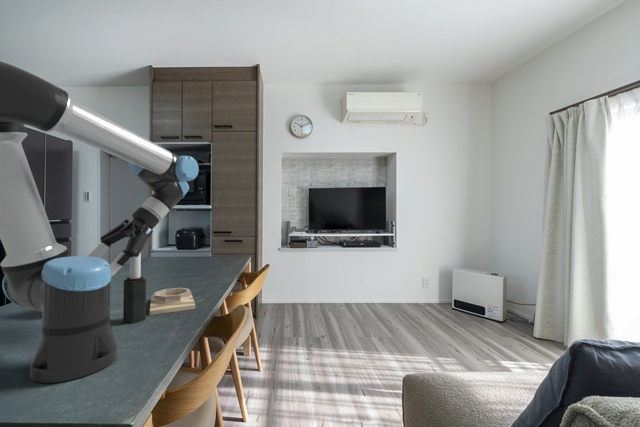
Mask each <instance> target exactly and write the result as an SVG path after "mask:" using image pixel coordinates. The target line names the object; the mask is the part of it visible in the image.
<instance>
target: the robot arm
mask: <svg viewBox="0 0 640 427" xmlns="http://www.w3.org/2000/svg"><path fill="white" fill-rule="evenodd" d="M25 125H26V126H28V127H32V128H35V129H37V130H40V131H43V132H46V133H48V132H53V131H54V132H57V133H59V134H62V135H65V136H67V137H68V138H71V139H73V140H76V141H79V142H82V143H84V144H86V145H88V146H91V147H93V148H95V149H98V150H100V151H102V152H104V153H107V154H110V155H112V156H114V157H116V158H118V159H120V160H121V159H122V160H124V161H126V162H128V167H129V169H130V170H131V171H132V172H133V173H134V174H135V176H136V177H138V179H140V180H141V181H142V182H143V183H144V184H145V185H146V186H148V188H149V189H150V190H151V191H152V192H153V193H152V195H150V196H149V197H148V198H147V199H146V200H145V201H144V202H142V204H141V207H138V208H137V209H136V210H135V211H134V212H133V213H132V215H131V216H132V218H133V219H132V220H131V221H130V220H129V219H125V220H123V221H122V222H121V223H120V224H119V225H117V226H115V227H114V228H112V229H111V230H110V231H108V232H107V233H105V234H103V235H102V236H100V238H99V239H100V243H98V245H97V246H95V248H93V250H91V251H90V252H89V254H87V255H85V256H84V255H83V256H82V255H81V256H80V255H75V256H71V255H70V253H69V250H68V247H67V246H65V245H64V244H60V243H58V242H57V240H56V237H55V235H54V232H53V228H52V226H51V224H50V220H49V218H48V215H47V212H46V210H45V206H44V205H43V204H44V203H43V201H42V199H41V198H42V197H41V196H40V193H39V189H38V187H37V184H36V182H35V179H34V176H33V172H32V170H31V168H30V165H29V162H28V159H27V156H26V153H25V150H24V148H23V144H22V143H23V141H24V140H25V139H26V137H27V136H28V132H27V129H26V126H25ZM199 171H200V169H199V164H198V162H197V160H196V159H195V158H194V157H192V156H190V155H178V154H175V153H174V152H172V151H170V150H168V149H166V148H164V147H162V146H160V145H159V144H156V143H155V142H153V141H151V140H149V139H147V138H145V137H143V136H141V135H140V134H138V133H136V132H134V131H131V130H130V129H128V128H126V127H125V126H122V125H120V124H118V123H116V122H115V121H113V120H111V119H109V118H107V117H105V116H103V115H101V114H99V113H97V112H96V111H94V110H92V109H90V108H89V107H86V106H84V105H82V104H81V103H79V102H77V101H74V100H73V99H72V97H71V95H70V93H69V92H67V91H66V90H64V89H62V88H61V87H59V86H57V85H55V84H53V83H51V82H49V81H47V80H45V79H44V78H41V77H40V76H38V75H35V74H33V73H31V72H29V71H27V70H25V69H22V68H20V67H17V66H15V65H13V64H10V63H8V62H4V61H0V242H1V243H2V245H3V248H4V251H5V254H6V255H5V257H4V258H3V260H2V261H1V262H0V267H1V270H2V272H3V275H4V277H3V279H2V283H1V287H2V291H3V294H4V295H5V296H6V298H7V299H8V300H9V301H10V302H12V303H13V304H15V305H17V306H18V307H21V308H24V309H25V308H26V309H30V310H34V311H38V312H42V313H41V324H42V325H41V327H42V328H41V338H40V341H39V343H38V345H37V348H36V350H35V353H34V354H33V355H34V356H33V358H32V360H31V363H30V366H29V379H30V380H31V381H33V382H35V383H41V384H51V383H52V384H55V383H61V382H66V381H67V382H68V381H72V380H76V379H77V380H78V379H79V378H83V377H87V376H89V375H91V374H96V373H98V372H99V371H102V370H103V369H106V368H107V367H109V366H110V365H112V364H113V363H114V362H115V361H116V360H117V358H118V357H119V350H120V349H119V348H120V346H119V343H118V340H117V338H116V336H115V333H114V330H113V328H112V326H111V280H112V277H114V276H115V275H116V274H117V272H119V270H120V269H122V267H123V266H124V265H125V264H126V263H127V261H130V258H132V257H133V256H135V257H138V256H139V254H140V252H142V250H143V249H144V247H145V244H146V242H147V241H148V240H149V237H150V236H151V235H152V234H153V232H154V230H153V229H154V228H155V227H157V225H158V224H160V220H162V219H164V218H165V217H167V214H168V213H169V212H170V211H171V210H172V209H173V208H174V207H175V206H176V205H177V204H178V203H179V202H180V201H181V200H182V199H184V197H185V196H186V194H187V193H188V191H190V186H189V184H188V182H190V181H193V180H195V179H196V178H197V177H198V175H199ZM124 238H129V239H128V242H127V243H126V244H127V245H126V247H125V249H124V250H122V252H120V253H119V255H117V257H116V258H114V260H112V261H111V263H109V262H108V261H107V260H106V259H104V258H102V256H103V254H104V253H105V252H106V251H107V250H109V249H110V248H111V246H112V245H113V244H115V243H117V242H118V241H120V240H123V239H124ZM136 251H137V252H136ZM100 257H101V258H100Z"/></svg>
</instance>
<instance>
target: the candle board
mask: <svg viewBox="0 0 640 427" xmlns="http://www.w3.org/2000/svg"><path fill="white" fill-rule="evenodd" d="M195 302H196V301H195V300H194V297H193V294H192V291H191V290H190V288H185V287H172V288H164V289H161V290H157V291H154V292H153V295H151V296H150V305H149V306H150V307H149V316H155V315H160V314H167V313H175V312H182V311H183V312H184V311H190V310H196V303H195Z"/></svg>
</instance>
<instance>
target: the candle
mask: <svg viewBox="0 0 640 427" xmlns="http://www.w3.org/2000/svg"><path fill="white" fill-rule="evenodd" d="M136 252H137V251H136ZM141 252H142V251H141ZM141 252H140V254H139V256H138V257H135V256H133V257H132V258H130V259H129V277H126V279H123V307H122V308H123V314H122V315H123V321H122V322H124V323H127V324H129V325H132V324H135V323H140V322H143V321H146V319H147V278H145V277H144V276H142V275H141V274H142V273H141V272H142V271H141V268H142V266H141V265H142V263H141V262H142V260H141V258H142V257H141V256H142V253H141Z"/></svg>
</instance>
